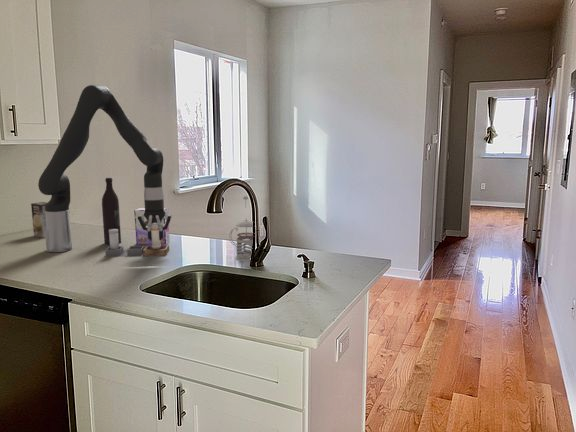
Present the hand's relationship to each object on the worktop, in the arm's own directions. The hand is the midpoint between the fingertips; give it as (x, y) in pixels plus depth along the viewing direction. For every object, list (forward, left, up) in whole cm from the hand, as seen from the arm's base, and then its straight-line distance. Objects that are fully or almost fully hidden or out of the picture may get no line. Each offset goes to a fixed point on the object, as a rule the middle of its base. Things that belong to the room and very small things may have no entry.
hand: (155, 239), depth 203 cm
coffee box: (-60, +45, -7) cm, 76 cm away
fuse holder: (-12, 0, -6) cm, 14 cm away
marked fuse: (0, 0, -3) cm, 3 cm away
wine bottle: (-22, +21, -7) cm, 31 cm away
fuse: (-17, 0, -6) cm, 18 cm away
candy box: (-4, +19, -7) cm, 21 cm away
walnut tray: (0, 0, -6) cm, 6 cm away
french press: (+36, -10, -7) cm, 38 cm away
